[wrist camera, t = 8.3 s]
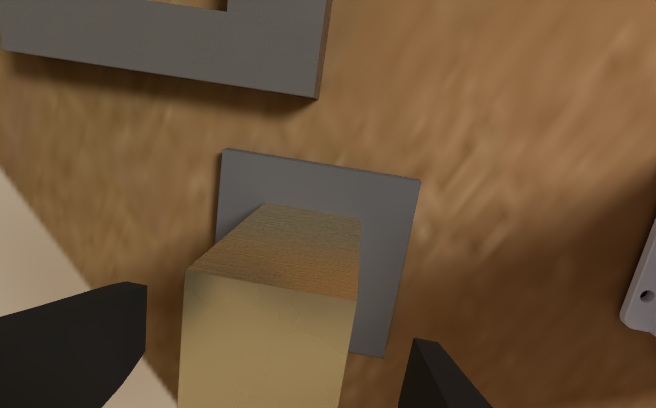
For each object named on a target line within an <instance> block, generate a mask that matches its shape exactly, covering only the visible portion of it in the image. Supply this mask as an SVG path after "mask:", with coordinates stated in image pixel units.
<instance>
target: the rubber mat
mask: <svg viewBox="0 0 656 408" xmlns="http://www.w3.org/2000/svg"><path fill="white" fill-rule="evenodd" d="M420 185H421V181H420V180H419V179H413V178H407V177H401V176H395V175H389V174H383V173H377V172H371V171H365V170H359V169H353V168H347V167H340V166H334V165H328V164H322V163H316V162H310V161H304V160H298V159H292V158H286V157H280V156H274V155H267V154H261V153H255V152H249V151H243V150H237V149H231V148H226V149H223V150H222V162H221V175H220V187H219V199H218V212H217V224H216V237H215V244H217V243H218V242H219V241H220V240H221V239H223V238H224V237H225V236H226V235H227V234H228V233H230V232H231V231H232V230H233V229H234V228H236V227H237V226H238V225H239V224H240V223H241V222H243V221H244V220H245V219H246V218H247V217H249V216H250V215H251V214H252V213H253V212H254V211H256V210H257V209H258V208H259V207H260V206H262V205H263V204H264V203H265V202H267V203H273V204H279V205H285V206H291V207H297V208H303V209H309V210H315V211H321V212H327V213H333V214H339V215H345V216H351V217H357V218H362V223H361V240H360V258H359V275H358V293H357V304H356V310H355V315H354V321H353V326H352V332H351V337H350V343H349V348H348V352H352V353H357V354H362V355H367V356H372V357H377V358H382V359H383V358H384V353H385V348H386V344H387V339H388V334H389V330H390V325H391V320H392V316H393V311H394V306H395V302H396V297H397V292H398V288H399V283H400V278H401V274H402V269H403V264H404V260H405V255H406V250H407V246H408V241H409V236H410V232H411V227H412V222H413V218H414V213H415V208H416V204H417V199H418V194H419V190H420Z"/></svg>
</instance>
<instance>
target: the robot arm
mask: <svg viewBox="0 0 656 408" xmlns="http://www.w3.org/2000/svg"><path fill="white" fill-rule="evenodd" d="M646 290H648V291H647V294H646V295H645V296H644V297H642V298H640V295H641V294H642V292H644V291H646ZM146 310H147V286H146V285H141V284H136V283H131V282H121V283H116V284H112V285H108V286H105V287H101V288H97V289H94V290H91V291H87V292H84V293H81V294H77V295H74V296H71V297H68V298H64V299H61V300H58V301H54V302H51V303H48V304H44V305H41V306H38V307H34V308H31V309H27V310H24V311H20V312H16V313H13V314H9V315H6V316H2V317H0V408H102V407H103V406H104V404H105V403H106V402H107V401H108V400H109V399H110V398H111V396H112V395H113V394H114V393H115V392H116V391H117V390H118V388H119V387H120V386H121V385H122V384H123V382H124V381H125V380H126V378H127V377H128V376H129V374H130V373H131V371H132V370H133V369H134V367H135V366H136V364H137V363H138V361H139V360H140V358H141V357H142V355H143V354H144V352H145V339H146ZM619 317H620V320H621V321H622V322H623V323H624V324H625V325H626V326H628V327H629V328H631V329H634V330H640V331H645V332H650V333H651V334H652V335H654V336H655V337H656V218H655V221H654V224H653V226H652V229H651V231H650V234H649V237H648V239H647V242H646V245H645V247H644V250H643V253H642V255H641V258H640V260H639V263H638V266H637V268H636V271H635V274H634V276H633V279H632V282H631V284H630V287H629V289H628V292H627V295H626V297H625V300H624V303H623V305H622V308H621V311H620V315H619ZM398 408H493V407H492V406H491V405H490V404H489V403H488V402H487V401H486V399H485V398H484V397H483V396H482V395H481V394H480V393H479V391H478V390H477V389H476V388H475V387H474V385H473V384H472V383H471V382H470V381H469V380H468V378H467V377H466V376H465V375H464V373H463V372H462V371H461V370H460V369H459V367H458V366H457V365H456V364H455V362H454V361H453V360H452V359H451V358H450V356H449V355H448V354H447V353H446V351H445V350H444V349H443V348H442V347H441V346H440V344H439V343H438V342H433V341H428V340H423V339H418V338H414V339H413V343H412V347H411V352H410V356H409V360H408V364H407V369H406V373H405V377H404V381H403V386H402V390H401V394H400V399H399V403H398Z"/></svg>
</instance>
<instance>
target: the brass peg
mask: <svg viewBox="0 0 656 408" xmlns="http://www.w3.org/2000/svg"><path fill="white" fill-rule="evenodd" d="M361 223H362V218H357V217H351V216H345V215H339V214H333V213H327V212H321V211H315V210H309V209H303V208H297V207H291V206H285V205H279V204H273V203H267V202H265V203H264V204H263V205H262V206H260V207H259V208H258V209H257V210H256V211H254V212H253V213H252V214H251V215H250V216H249V217H247V218H246V219H245V220H244V221H243V222H241V223H240V224H239V225H238V226H237V227H236V228H234V229H233V230H232V231H231V232H230V233H228V234H227V235H226V236H225V237H224V238H223V239H221V240H220V241H219V242H218V243H217V244H215V245H214V246H213V247H212V248H211V249H210V250H208V251H207V252H206V253H205V254H204V255H202V256H201V257H200V258H199V259H198V260H197V261H195V262H194V263H193V264H192V265H191V266H189V267H188V268H187V269H186V270H185V280H184V298H183V316H182V334H181V351H180V369H179V387H178V405H177V408H338V404H339V398H340V393H341V387H342V381H343V376H344V370H345V365H346V359H347V354H348V348H349V343H350V337H351V332H352V326H353V321H354V315H355V310H356V304H357V293H358V275H359V258H360V240H361Z"/></svg>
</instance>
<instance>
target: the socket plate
mask: <svg viewBox="0 0 656 408" xmlns="http://www.w3.org/2000/svg"><path fill="white" fill-rule="evenodd" d="M331 6H332V0H228V4H227V12H225V11H218V10H211V9H204V8H197V7H189V6H182V5H175V4H168V3H161V2H154V1H147V0H0V28H1V45H2V50H6V51H11V52H17V53H23V54H28V55H34V56H40V57H46V58H53V59H59V60H66V61H72V62H79V63H85V64H92V65H99V66H105V67H112V68H118V69H125V70H131V71H138V72H144V73H151V74H157V75H164V76H170V77H177V78H183V79H190V80H196V81H203V82H209V83H216V84H223V85H229V86H236V87H242V88H249V89H255V90H262V91H268V92H275V93H281V94H288V95H294V96H301V97H307V98H314V99H319V93H320V86H321V78H322V71H323V64H324V57H325V50H326V42H327V35H328V28H329V21H330V14H331Z"/></svg>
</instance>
